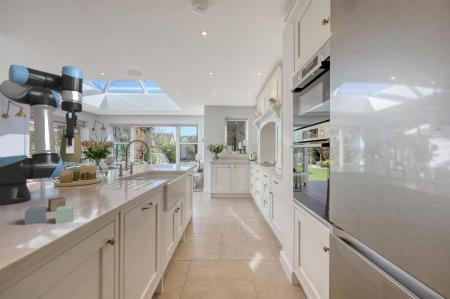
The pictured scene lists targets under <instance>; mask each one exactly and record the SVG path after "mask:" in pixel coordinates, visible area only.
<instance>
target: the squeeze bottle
mask: <svg viewBox="0 0 450 299" xmlns="http://www.w3.org/2000/svg"><path fill="white" fill-rule="evenodd" d="M78 133H79V130H78V129H77V128H76V129H75V127H74V153H66V138H64V136H66V128H64V133H63V134H62V135H61V141H60V146H59V147H60V148H59V153H58V154H59V157H61V159H62V161H63V163H76V162H80V159H81V157H82V154H83V151H82V150H83V149H82V140H81V136H80V134H78Z"/></svg>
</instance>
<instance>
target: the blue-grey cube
mask: <svg viewBox="0 0 450 299" xmlns="http://www.w3.org/2000/svg"><path fill="white" fill-rule="evenodd" d="M46 220H47V206H46V205H43V206H33V207H28V208H27V209H26V210H25V211H24V226H27V225H35V224H37V225H38V224H44V222H45V221H46Z"/></svg>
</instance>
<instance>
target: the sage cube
mask: <svg viewBox="0 0 450 299" xmlns="http://www.w3.org/2000/svg"><path fill="white" fill-rule="evenodd" d="M74 220H75V205H74V204H73V205H67V206H66V205H65V206H63V207H58V208H57V209H56V211H55V225H58V223H59V224H64V223H65V224H67V223H72V222H74ZM66 222H67V223H66Z"/></svg>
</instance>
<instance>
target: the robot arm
mask: <svg viewBox="0 0 450 299" xmlns="http://www.w3.org/2000/svg"><path fill="white" fill-rule="evenodd" d="M83 79H84V76H83V70H82V69H81V68H78V67H76V66H71V65H64V66H62V68H61V75H59V74H55V73H51V72H46V71H42V70H38V69H35V68H31V67H28V66H24V65H18V64H10V65H9V68H8V79H5V80H4V81H2V82H1V84H0V93H1V94H2V95H3V96H4V97H5V98H7V99H8V100H10V101H12V102H15V103H17V104H22V105H29V109H30V110H31V111H32V112H33V127H34V128H33V129H34V130H33V132H34V152H33V153H32V154H31V157H29V156H28V155H27V154H20V155H9V156H1V157H0V206H1V205H2V206H4V205H5V206H6V205H12V204H20V203H24V202H28V201H31V200H32V194H31V192H30V190H29V188H28V185H27V183H28V182H27V181H28V180H37V179H38V180H39V179H52V178H58V177H59V176H60V175H61V173H62V172H63V168H64V161H62V159H61V156H60V154H59V153H58V152H57V151H56V144H55V127H54V113H55V112H56V111H57V109H59V107H60V109H61V110H62V111H64V112H66V114H65V122H66V124H65V125H66V127H65V129H66V133H65V134H66V136H64V138H66V153H74V127H75V129H76V130H77V124H78V121H77V120H78V115H76V113H81V112H82V111H83V104H82V103H83V83H84V82H83V81H84V80H83ZM60 97H61V99H60ZM60 100H61V101H60ZM60 102H61V104H60Z"/></svg>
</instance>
